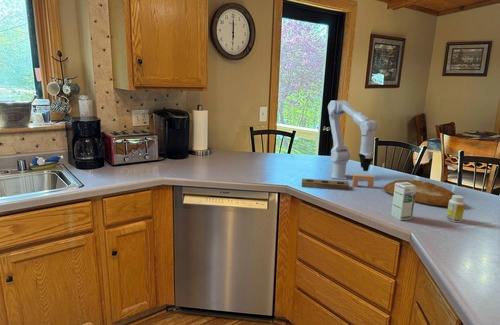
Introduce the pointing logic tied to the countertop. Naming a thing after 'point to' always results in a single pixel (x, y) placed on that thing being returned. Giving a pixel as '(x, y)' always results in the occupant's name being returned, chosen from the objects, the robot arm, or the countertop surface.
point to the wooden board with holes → (325, 184)
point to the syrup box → (403, 201)
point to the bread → (425, 192)
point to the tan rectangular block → (363, 177)
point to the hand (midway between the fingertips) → (364, 169)
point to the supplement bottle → (455, 208)
